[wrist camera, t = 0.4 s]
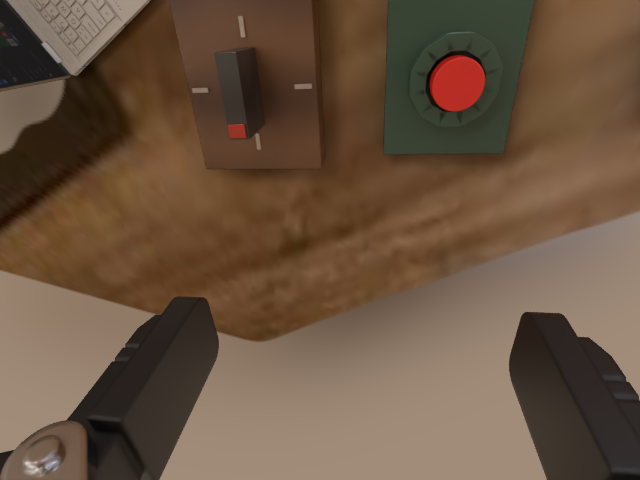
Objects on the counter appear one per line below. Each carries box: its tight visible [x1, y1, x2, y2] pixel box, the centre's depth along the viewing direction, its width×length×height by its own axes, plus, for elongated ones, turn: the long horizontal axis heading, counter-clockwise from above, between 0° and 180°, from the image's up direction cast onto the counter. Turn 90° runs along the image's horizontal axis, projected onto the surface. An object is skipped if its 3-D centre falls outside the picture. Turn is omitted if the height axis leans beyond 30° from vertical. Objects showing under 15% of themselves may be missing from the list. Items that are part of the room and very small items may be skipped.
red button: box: [429, 55, 485, 112], centre depth 27 cm, size 4×4×2 cm
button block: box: [383, 0, 535, 154], centre depth 29 cm, size 12×10×4 cm
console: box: [169, 0, 325, 169], centre depth 32 cm, size 14×11×3 cm
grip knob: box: [214, 47, 265, 140], centre depth 28 cm, size 6×2×5 cm, turn 3°
